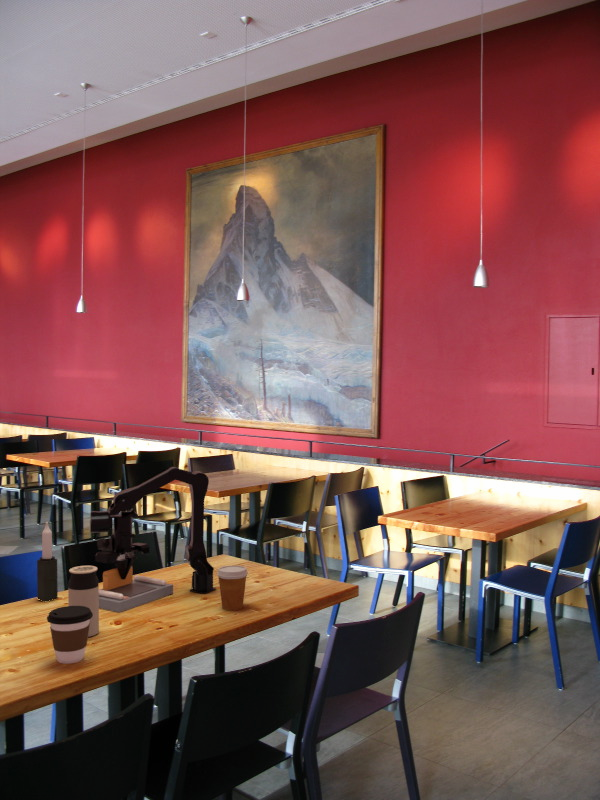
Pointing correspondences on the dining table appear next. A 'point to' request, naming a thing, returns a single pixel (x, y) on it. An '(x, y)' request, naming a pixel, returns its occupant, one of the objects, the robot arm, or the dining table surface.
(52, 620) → the coffee cup
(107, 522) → the robot arm
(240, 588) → the disposable coffee cup
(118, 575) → the orange rectangular slab
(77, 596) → the travel mug
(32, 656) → the dining table surface
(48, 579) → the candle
